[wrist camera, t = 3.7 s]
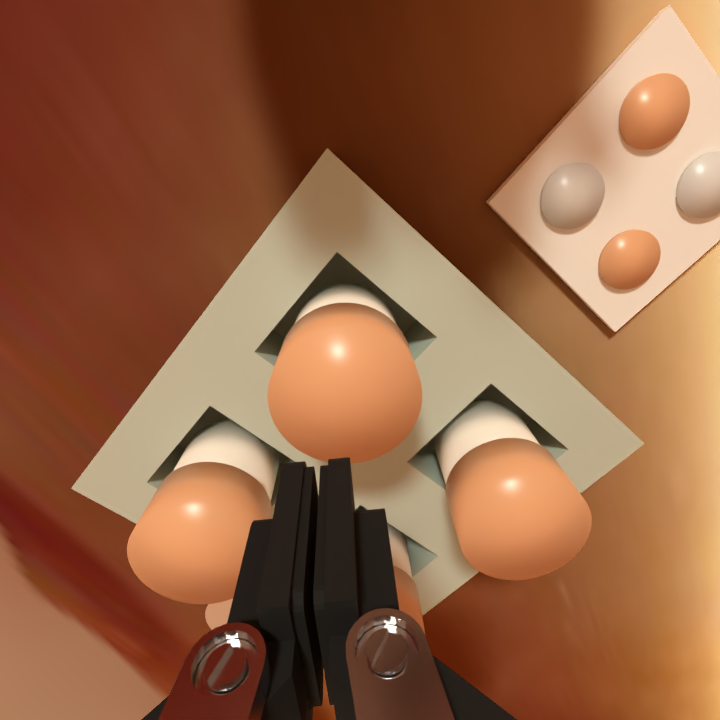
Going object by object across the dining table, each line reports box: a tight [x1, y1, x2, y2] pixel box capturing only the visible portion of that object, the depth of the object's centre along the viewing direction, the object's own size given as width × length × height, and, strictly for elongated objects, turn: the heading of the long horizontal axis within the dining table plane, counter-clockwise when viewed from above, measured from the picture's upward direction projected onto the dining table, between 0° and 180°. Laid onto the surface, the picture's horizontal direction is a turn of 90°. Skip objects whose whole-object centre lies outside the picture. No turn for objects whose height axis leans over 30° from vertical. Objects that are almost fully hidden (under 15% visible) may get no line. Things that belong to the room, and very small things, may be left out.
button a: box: [434, 400, 592, 580], centre depth 22 cm, size 6×6×7 cm
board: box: [71, 148, 645, 616], centre depth 26 cm, size 22×22×5 cm
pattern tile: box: [486, 5, 720, 332], centre depth 23 cm, size 11×11×1 cm
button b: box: [268, 284, 422, 464], centre depth 19 cm, size 6×6×7 cm
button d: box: [127, 420, 279, 604], centre depth 22 cm, size 6×6×7 cm
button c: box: [323, 523, 426, 675], centre depth 25 cm, size 6×6×7 cm
